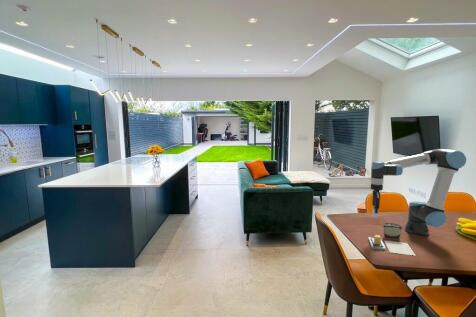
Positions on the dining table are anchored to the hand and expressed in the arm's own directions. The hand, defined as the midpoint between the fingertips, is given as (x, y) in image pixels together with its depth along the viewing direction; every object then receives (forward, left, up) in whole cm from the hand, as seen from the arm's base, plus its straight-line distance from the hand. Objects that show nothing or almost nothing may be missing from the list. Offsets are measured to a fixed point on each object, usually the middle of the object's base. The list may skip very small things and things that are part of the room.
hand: (375, 216), depth 179 cm
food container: (-12, -6, -17) cm, 22 cm away
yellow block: (0, +12, -15) cm, 19 cm away
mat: (-13, +11, -17) cm, 24 cm away
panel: (0, +10, -17) cm, 19 cm away
